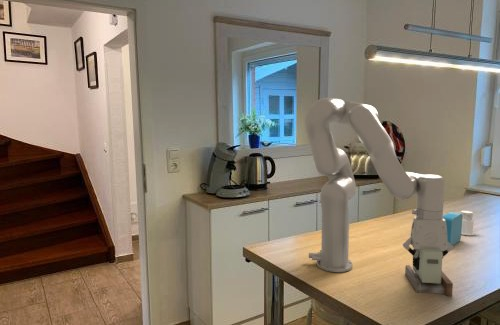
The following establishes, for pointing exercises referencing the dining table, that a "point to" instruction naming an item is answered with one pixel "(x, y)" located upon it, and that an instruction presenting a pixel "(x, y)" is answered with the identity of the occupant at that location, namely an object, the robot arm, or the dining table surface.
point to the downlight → (467, 223)
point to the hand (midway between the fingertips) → (426, 268)
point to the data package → (453, 227)
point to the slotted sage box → (429, 266)
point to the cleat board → (441, 287)
